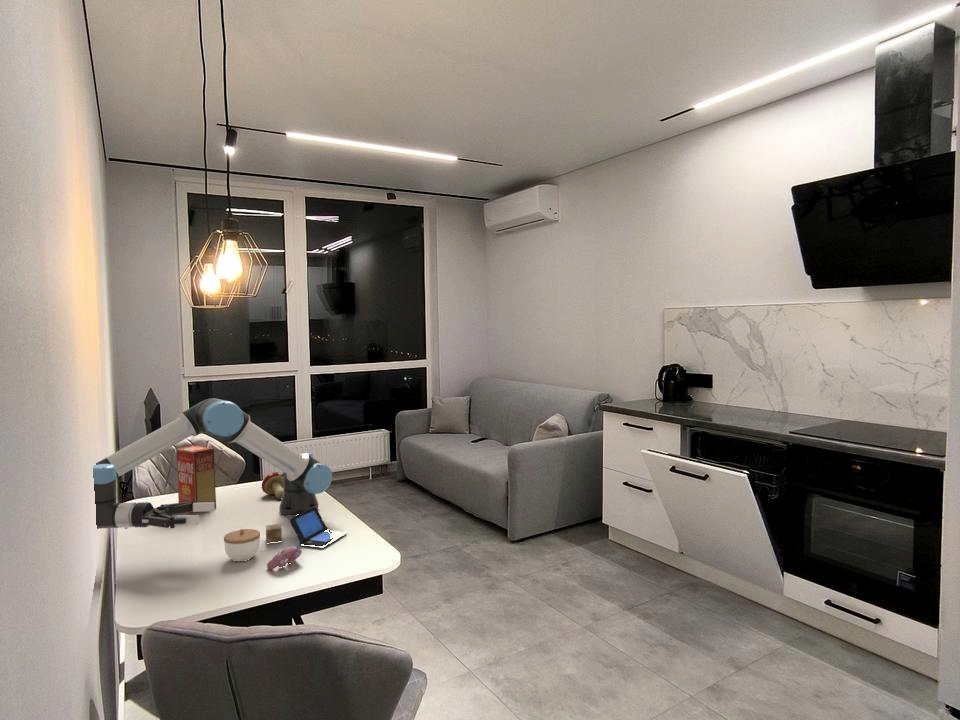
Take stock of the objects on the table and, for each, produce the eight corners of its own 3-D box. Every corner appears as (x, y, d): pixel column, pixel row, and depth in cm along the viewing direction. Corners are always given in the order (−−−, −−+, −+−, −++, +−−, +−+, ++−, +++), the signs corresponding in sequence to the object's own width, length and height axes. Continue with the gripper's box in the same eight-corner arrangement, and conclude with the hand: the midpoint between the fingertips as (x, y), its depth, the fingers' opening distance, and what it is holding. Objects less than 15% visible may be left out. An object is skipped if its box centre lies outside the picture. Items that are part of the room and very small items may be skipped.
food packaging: (176, 509, 240) (174, 448, 239) (198, 503, 248) (196, 444, 247) (196, 514, 233) (194, 451, 232) (217, 507, 241) (215, 447, 240)
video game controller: (273, 577, 176) (280, 558, 174) (264, 567, 178) (270, 549, 176) (299, 565, 184) (306, 548, 182) (290, 557, 186) (296, 539, 184)
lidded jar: (266, 558, 187) (265, 529, 186) (233, 568, 179) (232, 537, 178) (251, 549, 194) (250, 521, 194) (218, 559, 186) (217, 530, 186)
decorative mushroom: (288, 480, 251) (276, 463, 261) (264, 497, 247) (253, 478, 258) (299, 496, 257) (287, 478, 268) (277, 512, 254) (266, 493, 264)
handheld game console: (323, 550, 193) (322, 522, 193) (288, 546, 198) (288, 519, 197) (348, 534, 208) (347, 509, 208) (315, 531, 212) (315, 506, 212)
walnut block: (281, 537, 205) (281, 523, 205) (281, 542, 201) (281, 528, 200) (266, 539, 204) (265, 525, 203) (266, 544, 199) (266, 530, 199)
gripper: (154, 514, 195) (220, 513, 197) (114, 540, 170) (191, 538, 172) (153, 492, 195) (219, 490, 197) (114, 515, 170) (190, 513, 172)
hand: (206, 513), depth 184 cm, fingers open, 13 cm apart
